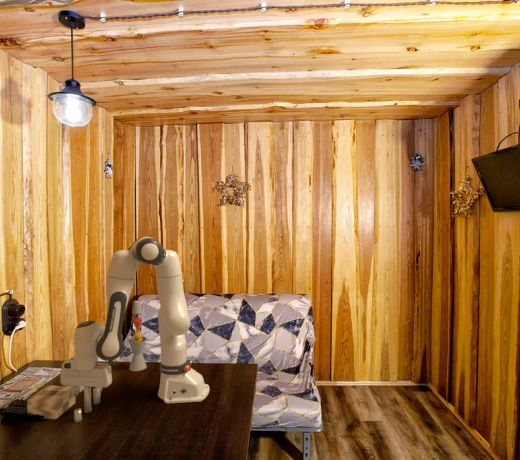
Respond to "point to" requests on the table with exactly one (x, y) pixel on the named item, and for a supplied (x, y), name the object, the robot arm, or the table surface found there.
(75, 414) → the short steel pin
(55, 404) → the birch hole block
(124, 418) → the table surface
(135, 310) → the lava lamp
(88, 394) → the long steel pin
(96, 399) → the medium steel pin
